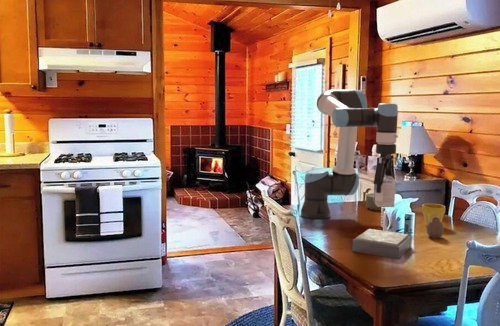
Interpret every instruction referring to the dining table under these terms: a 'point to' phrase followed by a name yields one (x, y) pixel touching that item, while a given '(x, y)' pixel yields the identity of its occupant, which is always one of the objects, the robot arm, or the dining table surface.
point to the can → (371, 202)
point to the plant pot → (432, 212)
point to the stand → (382, 243)
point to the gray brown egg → (435, 228)
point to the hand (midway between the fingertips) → (383, 198)
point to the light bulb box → (387, 192)
